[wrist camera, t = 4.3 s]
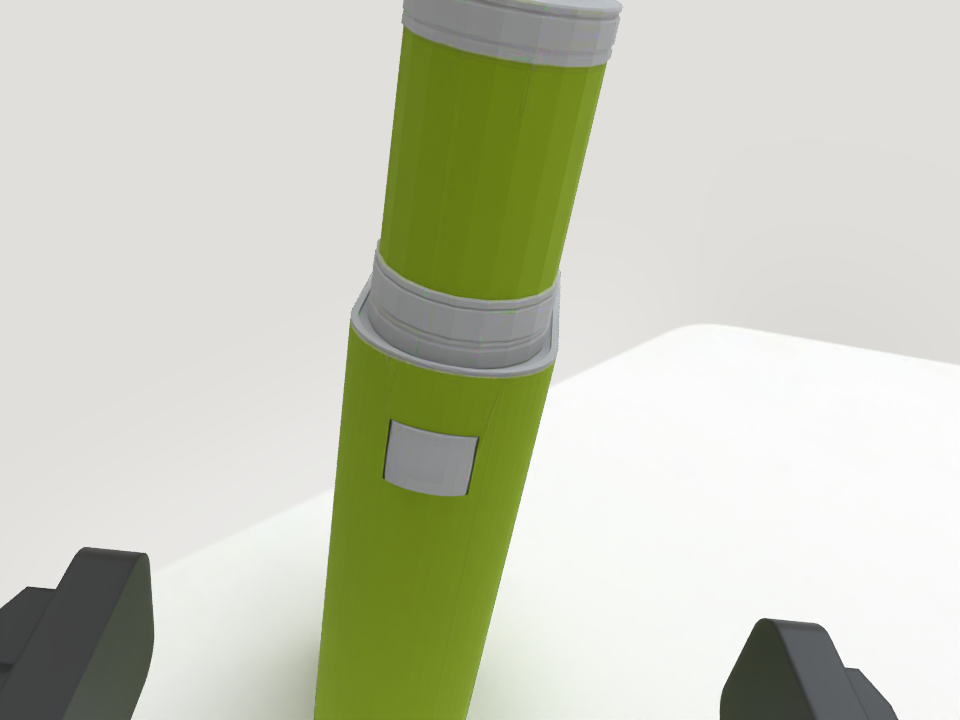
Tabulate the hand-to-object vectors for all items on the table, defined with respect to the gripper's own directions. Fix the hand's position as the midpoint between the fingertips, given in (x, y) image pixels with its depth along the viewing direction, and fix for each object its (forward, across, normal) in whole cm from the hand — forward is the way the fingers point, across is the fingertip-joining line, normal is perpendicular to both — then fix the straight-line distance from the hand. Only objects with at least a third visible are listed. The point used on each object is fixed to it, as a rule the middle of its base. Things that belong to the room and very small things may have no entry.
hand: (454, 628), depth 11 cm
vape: (+7, 0, +11) cm, 13 cm away
